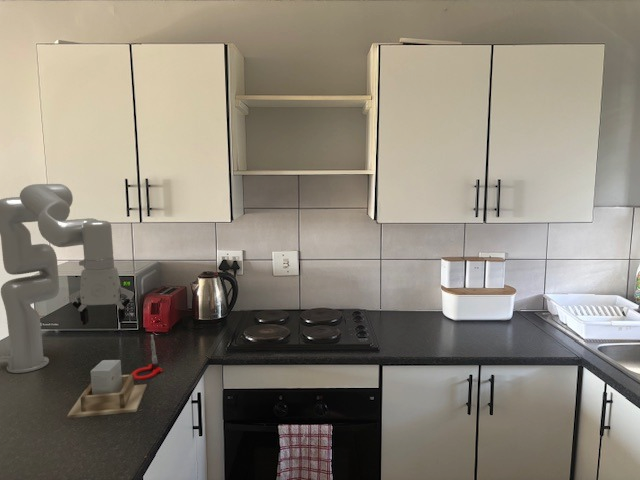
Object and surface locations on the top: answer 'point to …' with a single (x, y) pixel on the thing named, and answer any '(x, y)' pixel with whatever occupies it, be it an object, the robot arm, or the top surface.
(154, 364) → the tow hook
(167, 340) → the top surface
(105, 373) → the small box
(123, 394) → the well
